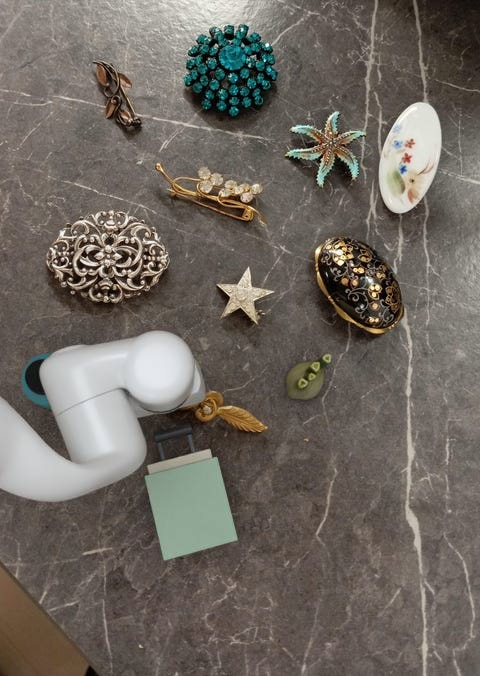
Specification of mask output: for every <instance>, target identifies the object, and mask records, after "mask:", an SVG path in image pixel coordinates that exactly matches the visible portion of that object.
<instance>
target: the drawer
mask: <svg viewBox="0 0 480 676" xmlns="http://www.w3.org/2000/svg"><path fill="white" fill-rule="evenodd" d="M152 434H153V440H154V442H155V443H154V444H157V449H158V454H159V457H160V461H158V462H155V463H151V464H148V465H146V467H147V471H148V475H150V474H154V473H158V472H161V471H165V470H169V469H173V468H176V467H180V466H184V465H188V464H191V463H195V462H199V461H203V460H206V459H210V458H213V454H212V450H211V448H208V449H203V450H199V451H197V450H196V446H195V442H194V438H193V434H194V432H193V427H192V424H191V423H190V422H189V423H184V424H181V425H177V426H173V427H168V428H165V429H162V430H158V431H157V430H156V431H154V432H153V433H152ZM185 436H186V437H187V441H188V444H189V449H190V453H188V454H184V455H181V456H178V457H177V456H176V457H172V458H169V459H166V454H165V451H164V446H163V442H166V441H169V440H174V439H177V438H180V437H181V438H182V437H185Z"/></svg>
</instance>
